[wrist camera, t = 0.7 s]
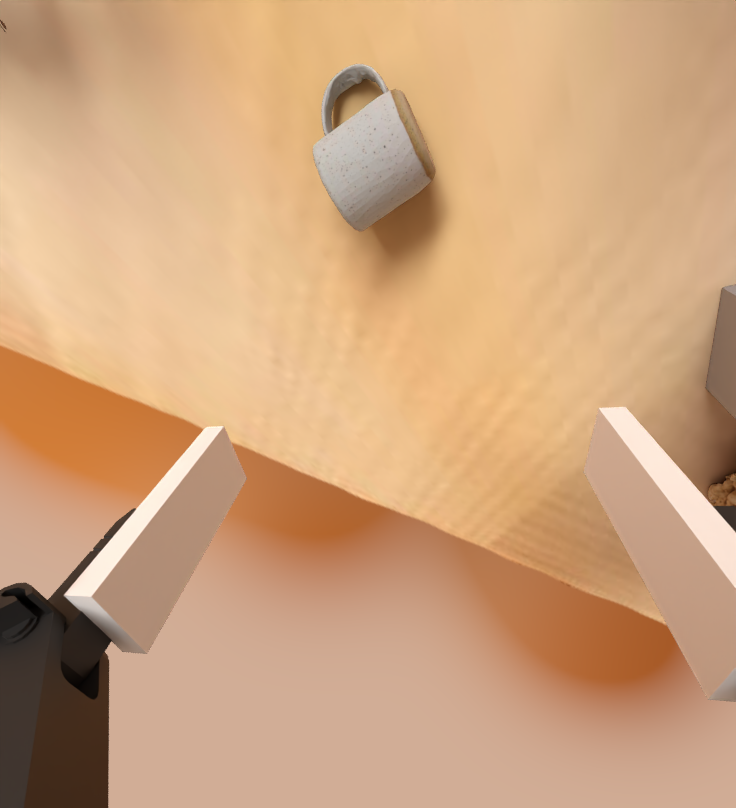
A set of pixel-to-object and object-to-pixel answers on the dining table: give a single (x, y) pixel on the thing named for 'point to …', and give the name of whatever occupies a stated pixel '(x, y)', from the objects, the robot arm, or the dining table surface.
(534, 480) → the dining table surface
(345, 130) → the ceramic mug
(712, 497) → the mineral formation
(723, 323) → the stand
